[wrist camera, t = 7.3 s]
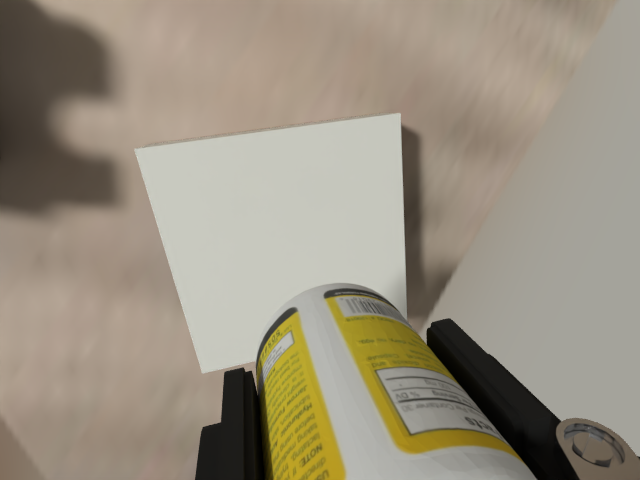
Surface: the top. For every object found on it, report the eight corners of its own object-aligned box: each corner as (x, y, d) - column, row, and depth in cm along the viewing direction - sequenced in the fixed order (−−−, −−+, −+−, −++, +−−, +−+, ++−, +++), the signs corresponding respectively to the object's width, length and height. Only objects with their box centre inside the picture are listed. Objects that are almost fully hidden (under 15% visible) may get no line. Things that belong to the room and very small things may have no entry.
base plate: (148, 144, 20) (134, 149, 17) (380, 113, 22) (400, 113, 19) (206, 344, 25) (202, 373, 22) (390, 303, 27) (407, 324, 24)
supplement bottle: (286, 427, 13) (382, 1083, 4) (230, 314, 11) (185, 1115, 2) (414, 372, 14) (746, 858, 5) (382, 254, 12) (860, 712, 3)
